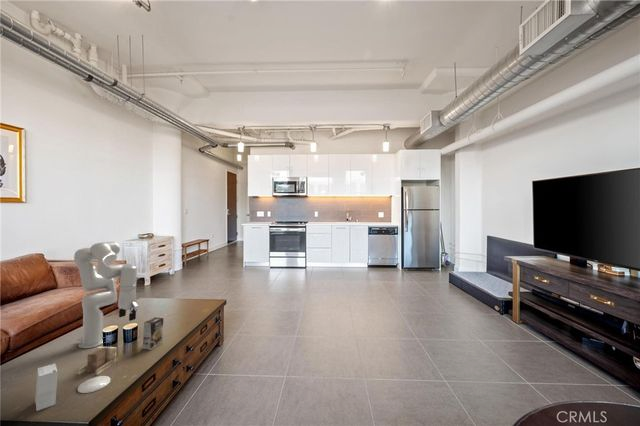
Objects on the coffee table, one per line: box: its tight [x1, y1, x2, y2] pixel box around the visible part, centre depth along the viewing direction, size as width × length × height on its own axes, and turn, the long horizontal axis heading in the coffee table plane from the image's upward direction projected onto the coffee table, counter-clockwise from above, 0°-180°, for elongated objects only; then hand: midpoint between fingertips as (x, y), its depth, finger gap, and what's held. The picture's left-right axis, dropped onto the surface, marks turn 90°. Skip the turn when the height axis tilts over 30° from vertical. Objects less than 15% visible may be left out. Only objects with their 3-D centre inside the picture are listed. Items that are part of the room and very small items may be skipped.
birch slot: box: [77, 346, 118, 376], centre depth 142 cm, size 10×12×8 cm
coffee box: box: [142, 316, 164, 351], centre depth 166 cm, size 9×6×16 cm
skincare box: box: [34, 363, 59, 412], centre depth 115 cm, size 8×6×15 cm
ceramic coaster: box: [77, 375, 111, 394], centre depth 128 cm, size 12×12×1 cm
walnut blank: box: [86, 348, 106, 373], centre depth 140 cm, size 5×5×9 cm
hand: (127, 318), depth 150 cm, fingers open, 9 cm apart
